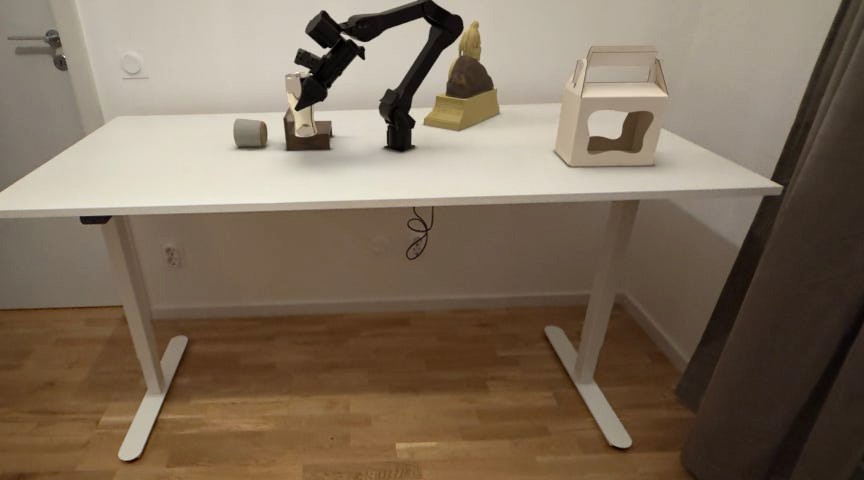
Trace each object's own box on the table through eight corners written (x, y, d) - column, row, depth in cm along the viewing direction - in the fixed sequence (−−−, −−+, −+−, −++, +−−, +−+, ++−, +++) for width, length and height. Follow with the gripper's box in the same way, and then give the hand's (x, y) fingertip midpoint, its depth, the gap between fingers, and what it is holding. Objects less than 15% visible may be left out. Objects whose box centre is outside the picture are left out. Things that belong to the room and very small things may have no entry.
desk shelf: (332, 135, 161) (330, 105, 157) (329, 149, 149) (327, 117, 145) (292, 136, 161) (289, 106, 156) (286, 150, 149) (283, 118, 144)
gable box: (568, 166, 137) (587, 50, 123) (553, 151, 148) (569, 42, 134) (653, 165, 138) (682, 49, 124) (631, 150, 149) (655, 42, 135)
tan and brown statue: (466, 107, 192) (472, 16, 177) (499, 113, 186) (507, 18, 171) (423, 124, 173) (426, 23, 158) (458, 131, 166) (464, 25, 151)
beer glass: (316, 137, 139) (309, 77, 130) (290, 138, 139) (281, 78, 131) (320, 129, 144) (313, 71, 136) (295, 129, 145) (286, 72, 137)
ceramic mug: (264, 149, 149) (260, 122, 145) (235, 149, 149) (230, 122, 145) (272, 139, 158) (269, 113, 155) (244, 139, 158) (240, 113, 155)
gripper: (314, 31, 138) (277, 77, 143) (308, 41, 121) (266, 92, 127) (347, 63, 142) (309, 106, 147) (344, 76, 126) (302, 124, 131)
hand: (297, 106), depth 138 cm, fingers closed on beer glass, 6 cm apart
